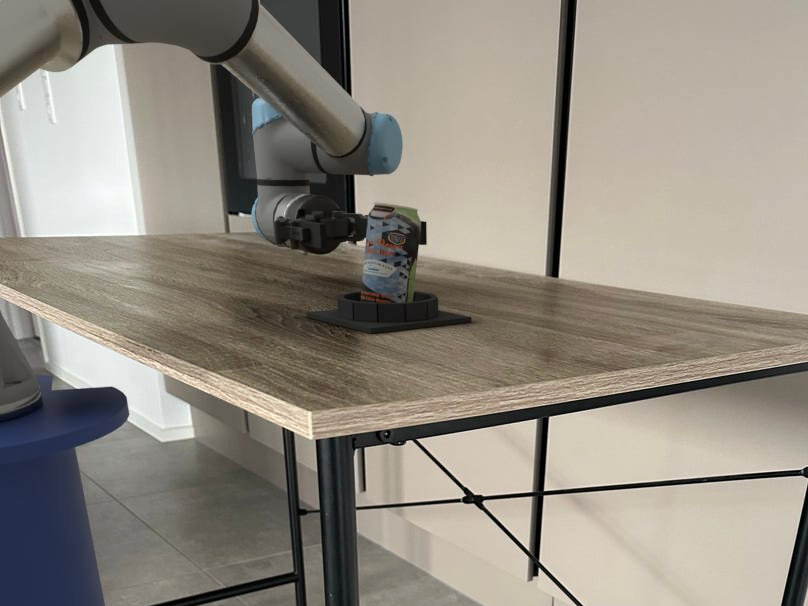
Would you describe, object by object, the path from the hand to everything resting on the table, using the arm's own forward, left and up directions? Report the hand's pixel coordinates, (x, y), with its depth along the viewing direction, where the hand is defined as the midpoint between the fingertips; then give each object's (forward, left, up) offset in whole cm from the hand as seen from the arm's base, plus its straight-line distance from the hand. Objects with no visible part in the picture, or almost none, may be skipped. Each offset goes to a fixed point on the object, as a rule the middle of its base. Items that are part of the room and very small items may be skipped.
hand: (375, 234), depth 115 cm
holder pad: (-4, -9, -8) cm, 13 cm away
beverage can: (-4, -9, -8) cm, 13 cm away
